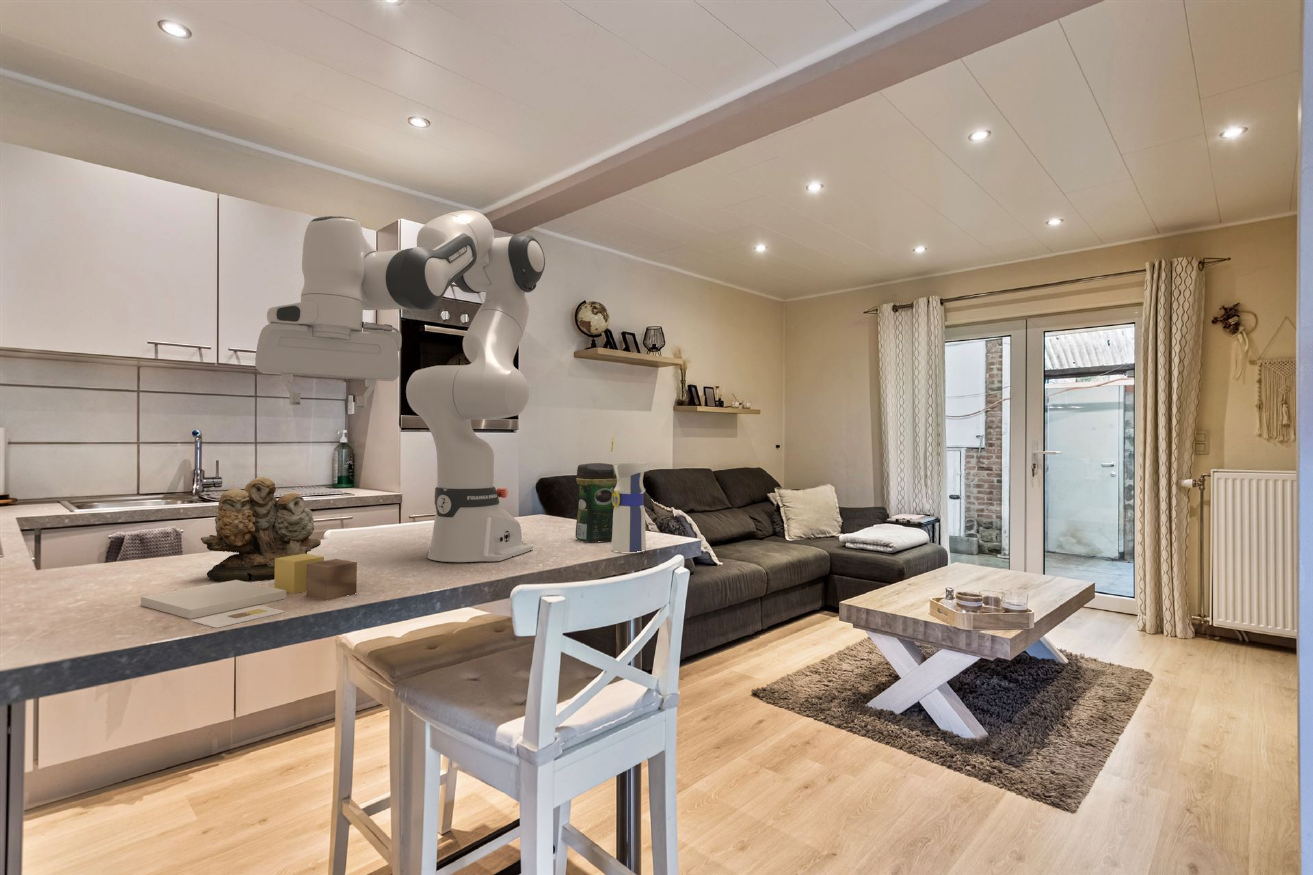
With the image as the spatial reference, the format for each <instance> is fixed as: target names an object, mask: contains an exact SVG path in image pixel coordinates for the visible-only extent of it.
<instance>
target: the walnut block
mask: <svg viewBox="0 0 1313 875" xmlns="http://www.w3.org/2000/svg"><path fill="white" fill-rule="evenodd" d="M357 580H358V561H351V560H346V559H338V558H333V559H329V560H324V561H321V562H315V563H310V564H307V565H306V591H305V596H306V597H308V598H313V599H316V600H322V601H326V600H328V601H330V600H332V601H333V600H336V599H339V598H345V597H348V596H347V595H349V596H353V594H354V595H356V594H355V593H358V592H357V588H358V586H357V585H358V584H357Z"/></svg>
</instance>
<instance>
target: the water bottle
mask: <svg viewBox="0 0 1313 875" xmlns="http://www.w3.org/2000/svg"><path fill="white" fill-rule="evenodd" d="M611 439H612V440H611V447H610V448H611V449H610V452H613V449H614V448H613V447H614V436H612V438H611ZM612 465H613V470H614V475H615V474H616V477H617V482H616V485H615V489H614V492H613V494H612V504H613V506H614V510H613V531H612V540H611V545H610V546H611V548H610V550H613V551H618V552H637V551H642V550H646V551H647V541H646V508H645V505H644V494H645V492H646V488H645V487H644V482H643V481H644V475H645V472H649V471H650V467H649V464H648V463H647V462H633V461H632V462H631V461H627V462H612Z"/></svg>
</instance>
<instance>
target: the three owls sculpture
mask: <svg viewBox="0 0 1313 875" xmlns="http://www.w3.org/2000/svg"><path fill="white" fill-rule="evenodd" d="M276 490H277V488H276V483H275V482H274V480H271V479H270V478H269V477H265V476H261V477H260V476H258V477H256V478H254V479H251V480H250V481H249V482H248V483H247V484H246V485H245V487H244V490H242V489H240V488H231V489H228V490H227V491H224V492H223V493H222V494H221V495H220V498H219V501H218V505H217V506H218V507H217V510H218V511H217V513H218V515H217V516H215V518H214V522H215V523H214V524H215V532H216V534H215V535H214V534H210V535H208V536H202V537H200V540H201V542H202V544H203V545H206V548H207V550H208V551H213V552H223V553H225V552H226V553H227V552H228V553H234V554H231V555H229V556H228V557H226V558H225V559H222V561H220V562H219V563H217V564H216V565H214V566H213V567H212V568H211V569H210V570H208V571H207V572H206V576H207V578H209V580H211V581H214V582H216V583H222V582H227V581H233V580H239V581H244V582H248V581H249V574H250V575H251V577H250V580H252V581H254V582H260V581H261V582H262V581H271V580H273V581H274V580H275V558H281V557H287V556H293V555H299V554H308V552H311V551H312V550H314V549H315V548H316V549H317V548H318V547H320V546H321V545H322V544H321V543H322V541H321V539H320V538H310V537H311V535H312V534H313V532H314V531H315V522H314V517H313V511H312V510H311V509H310V508H308V507H307V506H306V502H305V500H304V498H303V496H302V495H301V494H299V493H296V492H295V493H294V492H291V493H286V494H284V495H282V496H280V497H279V498H278V499H277V498H276V496H275V495H274V494H275V492H276Z"/></svg>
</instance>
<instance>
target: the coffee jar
mask: <svg viewBox="0 0 1313 875" xmlns="http://www.w3.org/2000/svg"><path fill="white" fill-rule="evenodd" d="M612 464H613V463H612ZM612 464H610V463H603V462H593V463H592V462H591V463H583V464H579V465H578V466H577V468H576V477H575V481H576V484H577V488H578V505H577V513H576V514H577V516H576V525H575V539H576V540H577V541H579V542H581V541H583V542H589V543H599V542H598V541H604V542H608V541H609V542H610V541H612V531H613V510H614V506H613V504H612V494H613V492H614V489H615V487H616V484H617V477H616V474H615V475H614V470H613V465H612Z"/></svg>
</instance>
